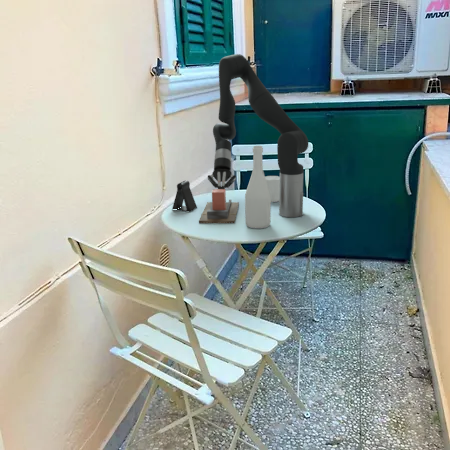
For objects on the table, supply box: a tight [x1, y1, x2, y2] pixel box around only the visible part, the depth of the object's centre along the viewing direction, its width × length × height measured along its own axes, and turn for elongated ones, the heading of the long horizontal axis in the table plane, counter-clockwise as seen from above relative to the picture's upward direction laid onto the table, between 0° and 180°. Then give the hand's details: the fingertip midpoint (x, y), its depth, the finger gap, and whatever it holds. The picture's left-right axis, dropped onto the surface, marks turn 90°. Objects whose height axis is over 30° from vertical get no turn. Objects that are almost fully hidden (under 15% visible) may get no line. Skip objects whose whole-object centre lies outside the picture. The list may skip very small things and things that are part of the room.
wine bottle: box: [244, 145, 272, 230], centre depth 164 cm, size 10×10×30 cm
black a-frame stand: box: [172, 180, 198, 213], centre depth 189 cm, size 9×6×12 cm, turn 67°
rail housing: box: [198, 199, 240, 224], centre depth 183 cm, size 14×26×4 cm, turn 175°
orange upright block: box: [211, 188, 227, 210], centre depth 180 cm, size 5×5×9 cm
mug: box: [265, 175, 280, 203], centre depth 200 cm, size 12×8×10 cm
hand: (220, 195), depth 190 cm, fingers closed
